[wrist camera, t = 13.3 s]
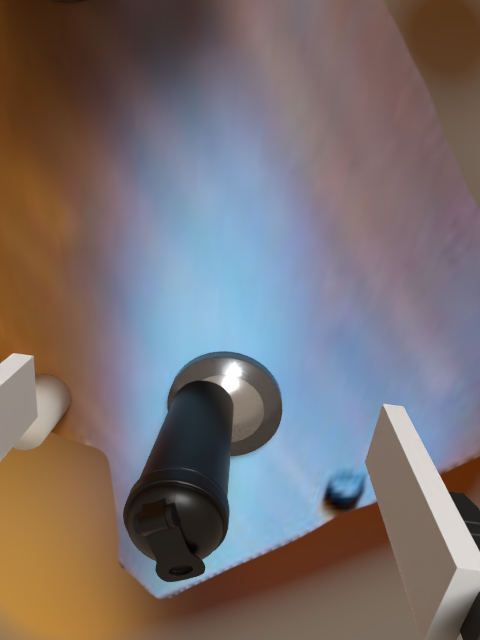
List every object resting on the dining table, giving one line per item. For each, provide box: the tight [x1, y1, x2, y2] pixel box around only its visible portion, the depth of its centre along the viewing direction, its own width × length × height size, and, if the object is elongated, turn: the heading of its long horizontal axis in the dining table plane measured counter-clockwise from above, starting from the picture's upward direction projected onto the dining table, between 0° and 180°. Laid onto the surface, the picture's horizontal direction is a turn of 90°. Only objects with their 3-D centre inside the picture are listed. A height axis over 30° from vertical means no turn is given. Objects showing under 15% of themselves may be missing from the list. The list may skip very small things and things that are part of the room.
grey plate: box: [168, 352, 282, 456], centre depth 60 cm, size 16×16×2 cm
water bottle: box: [123, 380, 234, 582], centre depth 48 cm, size 10×10×23 cm
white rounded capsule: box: [12, 374, 72, 450], centre depth 59 cm, size 7×7×8 cm
